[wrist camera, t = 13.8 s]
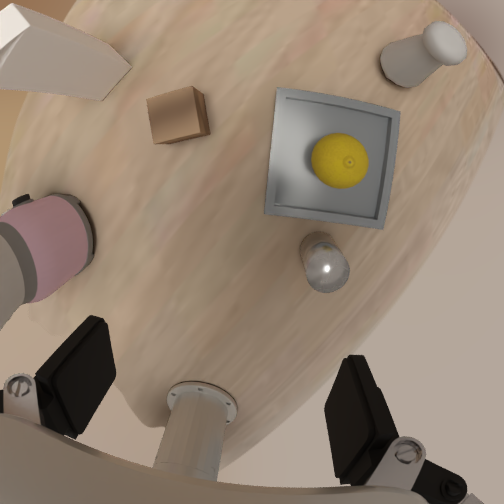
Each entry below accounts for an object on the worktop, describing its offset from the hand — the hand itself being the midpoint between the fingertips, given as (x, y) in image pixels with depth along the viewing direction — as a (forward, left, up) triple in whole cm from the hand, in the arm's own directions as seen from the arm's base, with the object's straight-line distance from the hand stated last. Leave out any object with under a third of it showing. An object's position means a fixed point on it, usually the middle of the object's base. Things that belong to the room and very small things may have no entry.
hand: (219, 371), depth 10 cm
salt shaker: (+21, -15, -25) cm, 36 cm away
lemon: (+8, -8, -24) cm, 27 cm away
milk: (+18, +21, -25) cm, 37 cm away
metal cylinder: (-3, -8, -25) cm, 27 cm away
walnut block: (+11, +9, -25) cm, 29 cm away
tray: (+8, -8, -25) cm, 27 cm away
